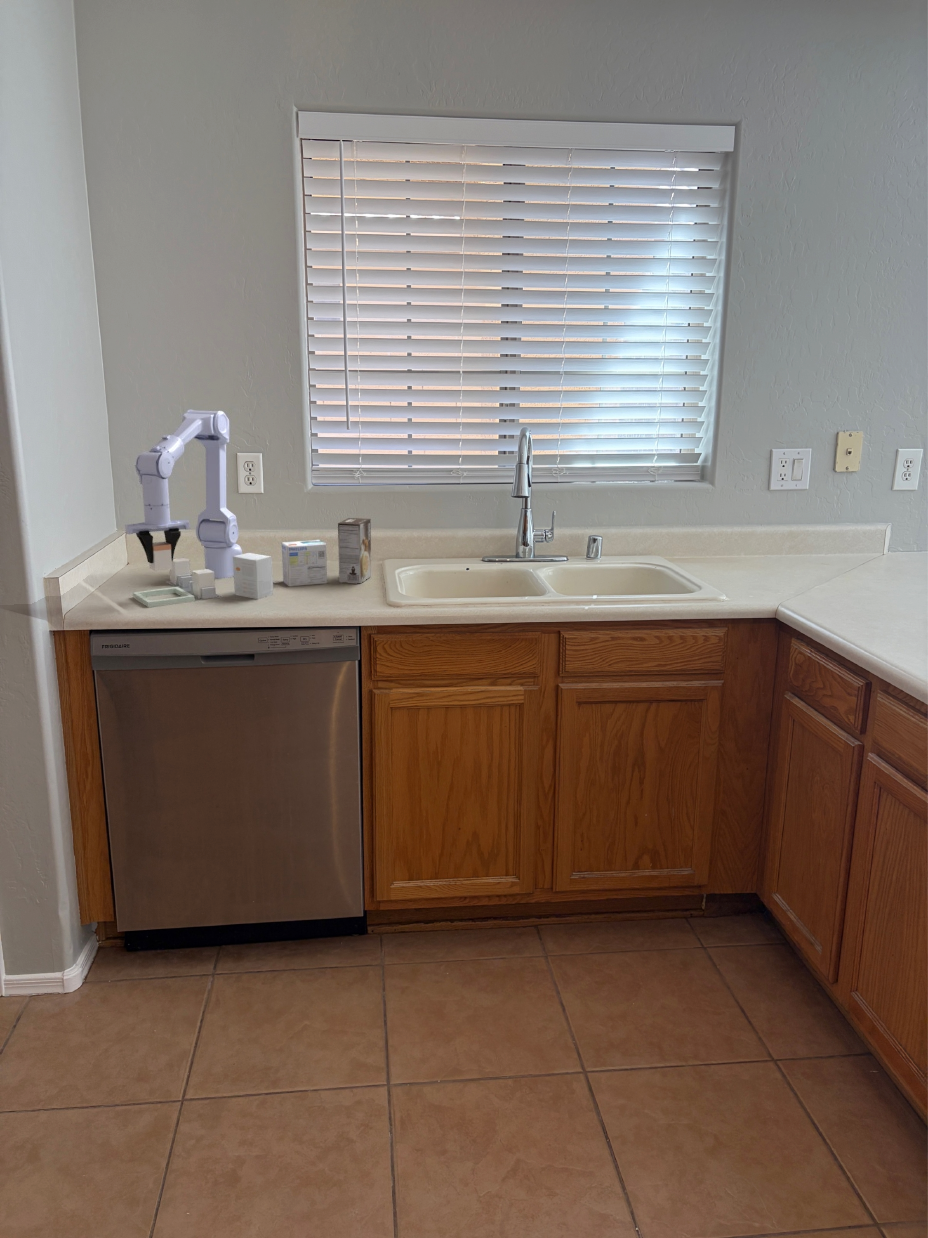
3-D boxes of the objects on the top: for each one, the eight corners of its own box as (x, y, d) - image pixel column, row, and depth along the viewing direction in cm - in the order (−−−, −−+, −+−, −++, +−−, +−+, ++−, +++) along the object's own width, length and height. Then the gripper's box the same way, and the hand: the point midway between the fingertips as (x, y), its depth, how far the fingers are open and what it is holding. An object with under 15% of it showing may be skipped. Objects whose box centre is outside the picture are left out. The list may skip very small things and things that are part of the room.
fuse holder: (187, 581, 242) (186, 569, 241) (221, 599, 225) (220, 586, 224) (165, 584, 238) (164, 571, 238) (197, 603, 221) (197, 589, 220)
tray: (178, 594, 228) (177, 586, 228) (194, 604, 220) (194, 596, 219) (133, 600, 222) (132, 592, 222) (148, 610, 214) (148, 602, 213)
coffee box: (349, 575, 253) (348, 517, 249) (371, 576, 252) (371, 518, 248) (338, 582, 245) (337, 522, 240) (361, 584, 243) (360, 523, 239)
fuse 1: (185, 579, 240) (184, 557, 239) (191, 582, 237) (189, 560, 235) (170, 581, 238) (168, 558, 236) (175, 584, 235) (174, 561, 233)
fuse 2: (209, 592, 228) (207, 568, 226) (215, 595, 225) (214, 571, 223) (193, 594, 226) (192, 570, 224) (199, 598, 222) (198, 573, 221)
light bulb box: (320, 578, 249) (319, 538, 246) (328, 583, 243) (327, 543, 240) (281, 581, 245) (280, 541, 242) (288, 587, 239) (287, 546, 236)
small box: (274, 598, 227) (272, 556, 225) (257, 602, 223) (256, 560, 220) (250, 593, 232) (249, 552, 229) (234, 597, 227) (232, 555, 224)
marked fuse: (166, 566, 222) (164, 541, 220) (172, 569, 219) (170, 544, 217) (149, 567, 219) (147, 543, 218) (155, 571, 216) (153, 546, 215)
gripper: (130, 508, 208) (134, 567, 211) (193, 504, 216) (196, 561, 220) (120, 504, 213) (125, 562, 217) (182, 500, 222) (185, 555, 225)
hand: (160, 561), depth 219 cm, fingers closed on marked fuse, 4 cm apart
